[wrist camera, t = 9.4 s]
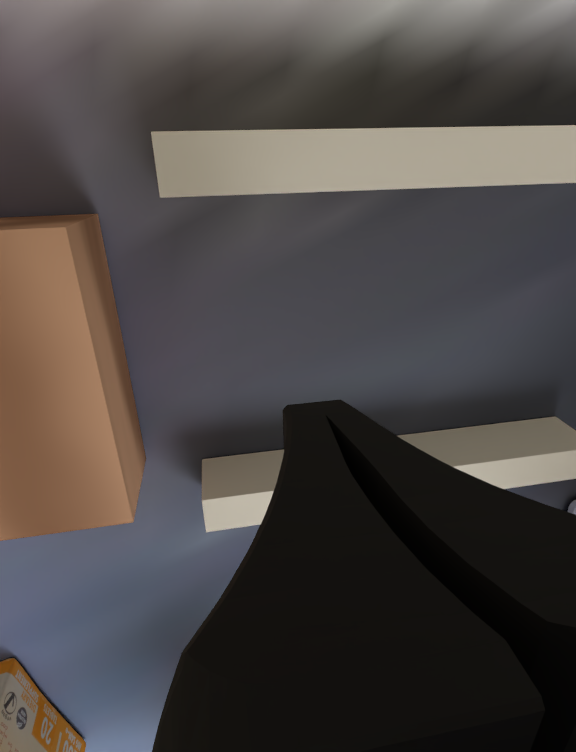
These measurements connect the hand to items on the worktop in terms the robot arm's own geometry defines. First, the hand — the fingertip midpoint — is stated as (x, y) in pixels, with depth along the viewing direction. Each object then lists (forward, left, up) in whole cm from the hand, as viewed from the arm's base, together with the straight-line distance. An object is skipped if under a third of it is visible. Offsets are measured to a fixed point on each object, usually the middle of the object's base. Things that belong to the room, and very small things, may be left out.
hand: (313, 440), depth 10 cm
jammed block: (0, +8, -7) cm, 10 cm away
